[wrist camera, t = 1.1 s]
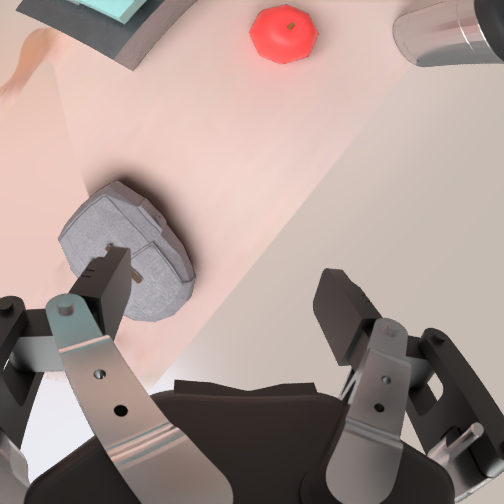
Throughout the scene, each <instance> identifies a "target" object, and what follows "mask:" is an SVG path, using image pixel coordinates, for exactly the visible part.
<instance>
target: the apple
mask: <svg viewBox="0 0 504 504" xmlns="http://www.w3.org/2000/svg"><path fill="white" fill-rule="evenodd" d="M249 33H250V36H251V39H252V41H253V43H254V45H255V47H256V49H257V51H258V53H259V55H260V56H262V57H264V58H267V59H269V60H272V61H274V62H276V63H279V64H286V63H289V62H292V61H295V60H299V59H302V58H306V57H308V56H309V54H310V52H311V50H312V48H313V46H314V43H315V41H316V39H317V37H318V35H319V33H318V31H317V29H316V27H315V25H314V23H313V21H312V19H311V17H310V16H309V14H307V13H305V12H303V11H301V10H298V9H296V8H294V7H292V6H289V5H287V4H285V5H281V6H277V7H272V8H269V9H265V10H262V11H261V12H259V14H258V16H257V18H256V20H255V22H254V24H253V26H252V28H251V30H250V32H249Z"/></svg>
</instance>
